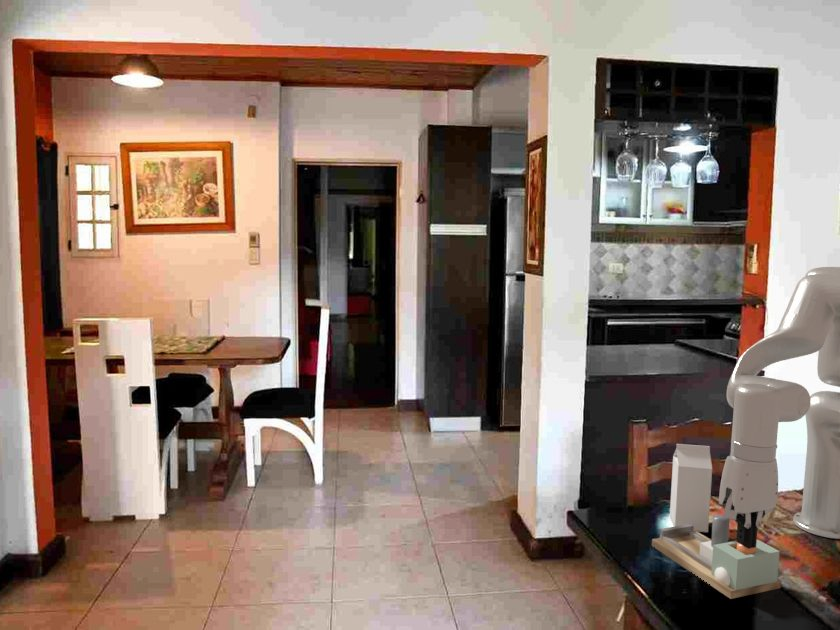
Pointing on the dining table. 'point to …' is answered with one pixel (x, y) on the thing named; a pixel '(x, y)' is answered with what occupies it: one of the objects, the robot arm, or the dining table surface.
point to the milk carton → (691, 486)
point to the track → (696, 557)
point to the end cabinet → (745, 566)
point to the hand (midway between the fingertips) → (745, 544)
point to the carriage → (715, 536)
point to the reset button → (745, 549)
